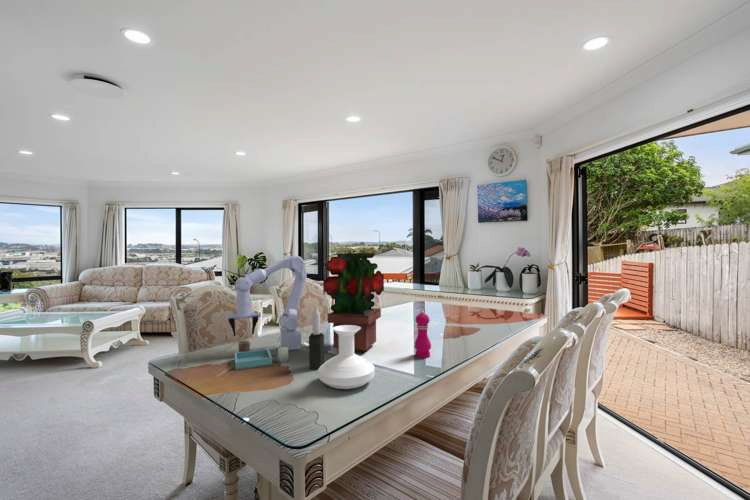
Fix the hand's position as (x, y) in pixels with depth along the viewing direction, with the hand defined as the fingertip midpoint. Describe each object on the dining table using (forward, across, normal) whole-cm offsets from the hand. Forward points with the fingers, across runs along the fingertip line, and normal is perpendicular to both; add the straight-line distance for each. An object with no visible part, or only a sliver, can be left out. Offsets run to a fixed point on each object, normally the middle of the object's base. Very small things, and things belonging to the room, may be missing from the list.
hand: (243, 334), depth 157 cm
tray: (+9, -3, +12) cm, 15 cm away
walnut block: (+9, 0, 0) cm, 9 cm away
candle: (+10, -26, +29) cm, 40 cm away
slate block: (+10, -11, +3) cm, 15 cm away
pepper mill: (+10, -72, +34) cm, 80 cm away
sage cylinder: (+9, -15, +14) cm, 23 cm away
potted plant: (+10, -49, +11) cm, 51 cm away
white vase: (+10, -32, +49) cm, 59 cm away
